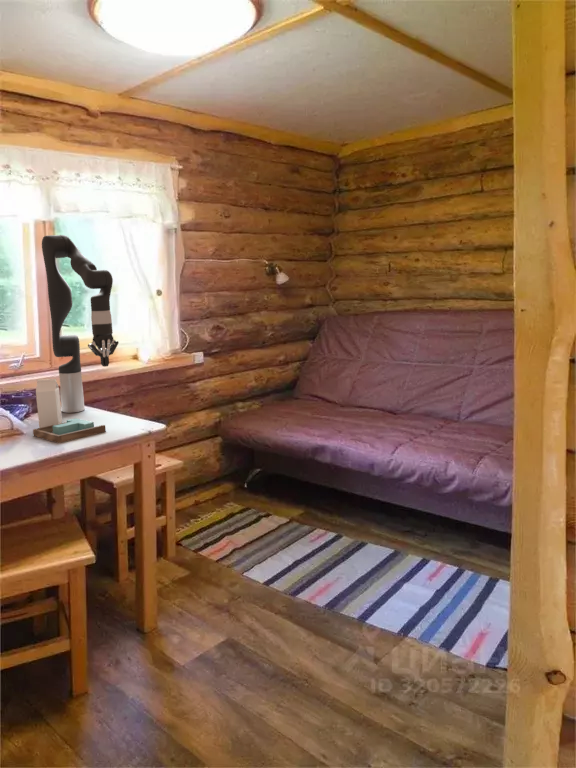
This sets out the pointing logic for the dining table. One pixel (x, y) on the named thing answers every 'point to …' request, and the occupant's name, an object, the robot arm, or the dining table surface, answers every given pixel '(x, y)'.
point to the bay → (49, 435)
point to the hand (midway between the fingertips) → (105, 366)
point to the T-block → (72, 426)
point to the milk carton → (48, 402)
